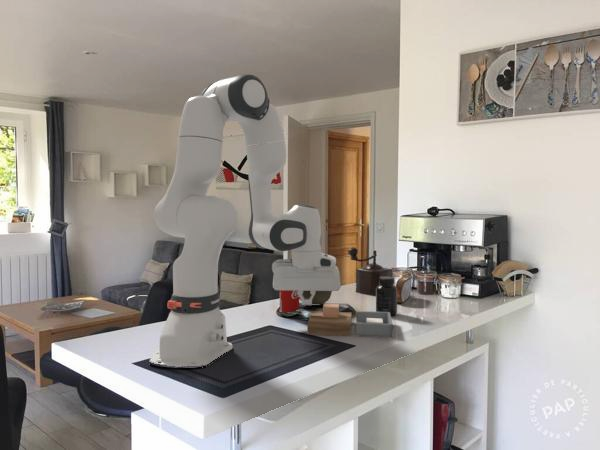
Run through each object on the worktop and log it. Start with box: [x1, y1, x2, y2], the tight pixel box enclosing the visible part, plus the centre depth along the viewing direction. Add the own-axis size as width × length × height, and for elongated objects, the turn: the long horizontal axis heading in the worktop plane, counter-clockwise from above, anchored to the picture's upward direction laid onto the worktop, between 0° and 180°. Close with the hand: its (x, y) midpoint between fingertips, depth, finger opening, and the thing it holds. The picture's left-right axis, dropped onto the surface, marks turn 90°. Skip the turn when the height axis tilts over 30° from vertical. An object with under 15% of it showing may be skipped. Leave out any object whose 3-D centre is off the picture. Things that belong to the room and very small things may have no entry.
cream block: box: [366, 318, 383, 324], centre depth 141 cm, size 4×4×3 cm
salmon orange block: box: [322, 303, 340, 318], centre depth 147 cm, size 4×4×3 cm
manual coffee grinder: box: [347, 246, 393, 297], centre depth 191 cm, size 16×11×18 cm
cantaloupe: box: [299, 291, 333, 305], centre depth 171 cm, size 14×14×15 cm
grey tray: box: [355, 310, 394, 338], centre depth 143 cm, size 14×10×4 cm
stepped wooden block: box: [306, 310, 353, 337], centre depth 145 cm, size 14×12×3 cm
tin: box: [395, 275, 412, 304], centre depth 179 cm, size 15×3×8 cm, turn 154°
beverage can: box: [279, 290, 300, 313], centre depth 159 cm, size 6×6×12 cm
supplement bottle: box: [375, 276, 398, 317], centre depth 160 cm, size 7×7×12 cm
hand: (307, 304), depth 149 cm, fingers closed
